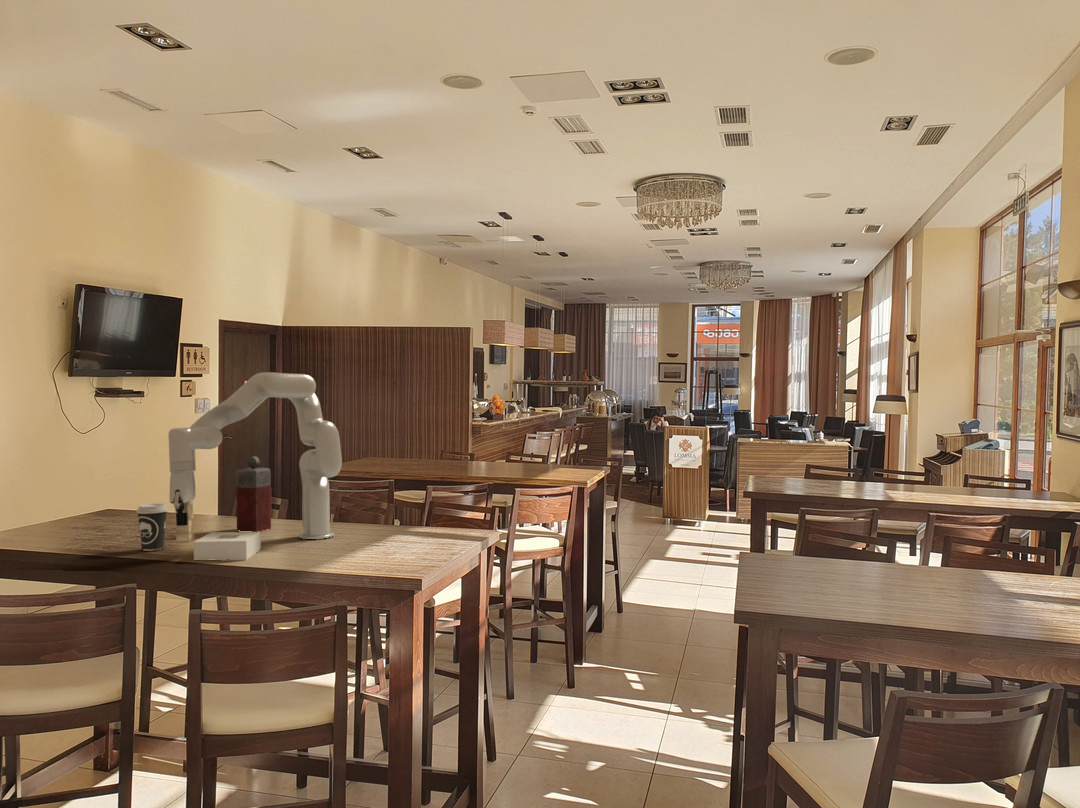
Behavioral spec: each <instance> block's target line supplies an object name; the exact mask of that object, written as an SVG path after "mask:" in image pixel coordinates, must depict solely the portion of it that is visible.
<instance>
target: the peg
mask: <svg viewBox="0 0 1080 808" xmlns="http://www.w3.org/2000/svg"><path fill="white" fill-rule="evenodd" d="M193 501H194V500H191V501H188V502H187V503H186V513H187V525H185V526H177V525H176V524H175V532H176V533H175V534H176V535H175V537H176V539H175V540H176V544H189V543H191V542H192V543H193V542H194V541H195V529H194V527H195V526H194V522H195V521H194V502H193ZM180 503H183V502H182V501H180ZM182 507H183V505H182ZM174 509H175V508H174ZM174 514H176V509H175V513H174Z"/></svg>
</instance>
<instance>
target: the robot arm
mask: <svg viewBox="0 0 1080 808" xmlns="http://www.w3.org/2000/svg"><path fill="white" fill-rule="evenodd" d="M316 389H317V383H316V381H315V379H314V377H312V376H311V375H308V374H306V373H285V372H274V371H273V372H258V373H255V374H254V375H252V376H251V377H250V378H249V379H248V380H247V381H246V382H245V383H243V385H241V386H240V387H239V388H238V389H237V390H236V391H235V392H234V393H232V394H231V395H230V396H229V397H228V398H227V399H225V400H223V401H222V402H220V403H219V404H217V405H216V406H214V407H213V408H210V410H208V411H207V412H205V413H204V414H203V415H201V416H200V417H199V418H198V419H197V420H196V421H194V423H192V424H191V426H190V427H174V428H171V429H169V430H168V457H169V459H168V462H169V473H170V477H169V503H170V504H172V505H173V507H174V509H176V513H175V526H176V525H177V526H185V525H187V513H186V503H187V502H188V501H191V500H193V501H194V500H195V499H196V480H195V479H196V478H195V471H196V470H197V468H196V450H213V449H216V448H217V447H219V446H220V445H221V443H222V442H223V433H222V431H221V430H222V429H223V428H225V427H227V426H229V425H231V424H233V423H236V422H239V421H242V420H244V419H245V418H247V417H249V415H250V414H252V413H253V412H254V411H255V410H256V409H257V408H258V407H259V406H261V404H262V403H263V402H265V400H267V399H268V398H277V399H278V398H279V399H288V400H289V401H291V403H292V404H293V406H294V407H295V410H296V415H297V424H298V433H299V439H300V441H301V442H302V444H304V445H305V446H308V447H309V446H310V447H315V448H313V449H309V450H306V451H305V452H303V453H302V454H301V456H300V459H299V461H298V462H299V463H298V464H299V466H298V467H299V471H300V479H301V489H302V490H301V499H302V500H301V506H302V508H301V509H302V510H301V511H302V512H301V513H302V515H301V519H302V532H300V533H298V534H297V537H299V538H298V539H300V538H302V539H301V540H306V539H316V540H325V539H324V538H326V539H329V537H330V538H333V537H334V536H335V532H334V531H332V530H331V526H330V525H331V516H330V515H331V514H330V513H331V511H330V509H331V506H330V505H331V504H330V501H331V499H330V498H331V497H330V492H331V491H330V482H329V478H334V477H336V476H337V475H338V474H339V473H340V472H341V470H342V468H343V467H342V465H343V457H342V456H343V455H342V449H341V447H342V446H341V440H340V433H339V429H338V427H336V425H335V424H334V423H333V422H331V421H329V420H325V419H324V418H323V412H322V408H321V407H322V406H321V403H320V400H319V398H318V396H317V394H316V393H315V392H316ZM180 501H182V502H183V503H180ZM182 505H183V507H182ZM332 536H333V537H332Z"/></svg>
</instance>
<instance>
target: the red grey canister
mask: <svg viewBox="0 0 1080 808" xmlns="http://www.w3.org/2000/svg"><path fill="white" fill-rule="evenodd" d="M260 464H261V462H260V459H259V457H258V456H250V457H248V458H247V460H246V465H247V468H240V469H236V472H235V475H236V477H235V478H236V480H235V481H236V482H235V483H236V484H235V485H236V489H235V493H236V494H235V495H236V499H235V501H236V531H237V530H240V531H252V532H258V531H262V530H265V531H267V530H266V529H269V530H271V529H272V487H271V483H272V482H271V481H272V480H271V469H270V468H269V467H259V466H260ZM270 528H271V529H270ZM262 532H263V531H262Z"/></svg>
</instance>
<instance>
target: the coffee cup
mask: <svg viewBox="0 0 1080 808" xmlns="http://www.w3.org/2000/svg"><path fill="white" fill-rule="evenodd" d="M168 511H169V508H168V507H167V506H166V504H165V503H147V504H145V503H144V504H139V506H138V508H137V510H136V512H135V513H136V514H137V516H138V527H139V534H140V544H141V550H142V549H158V548H162V547H165V534H166V524H167V514H168V513H167V512H168Z"/></svg>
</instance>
